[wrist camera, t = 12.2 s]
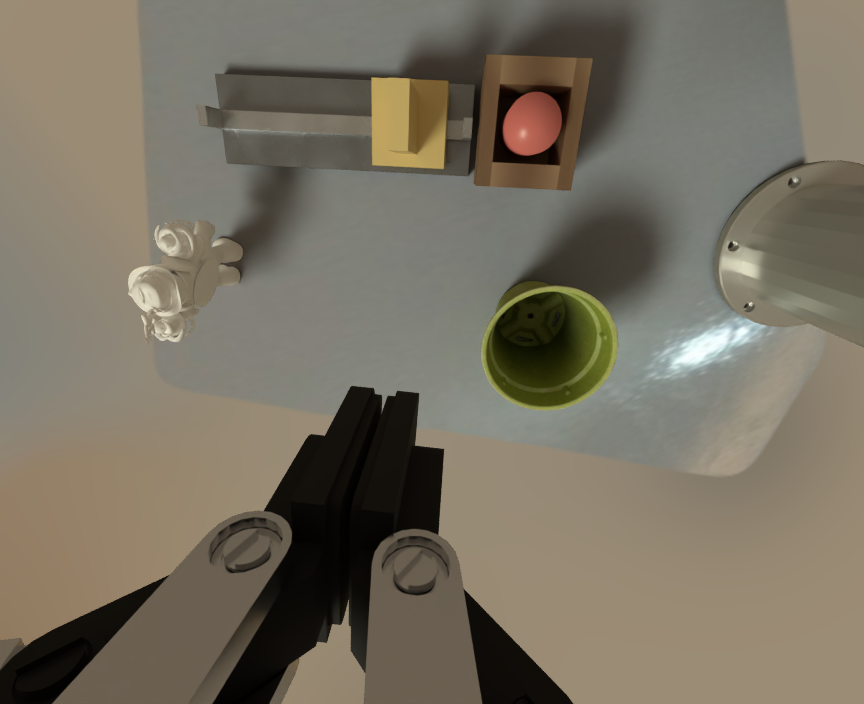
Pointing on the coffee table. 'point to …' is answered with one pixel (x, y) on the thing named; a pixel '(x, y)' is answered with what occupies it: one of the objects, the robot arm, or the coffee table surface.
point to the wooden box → (499, 93)
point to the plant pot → (549, 346)
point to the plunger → (530, 125)
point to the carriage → (409, 122)
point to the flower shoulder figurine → (182, 277)
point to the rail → (318, 123)
